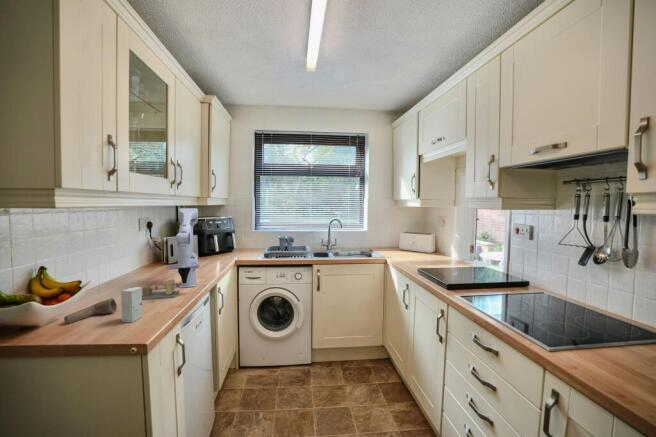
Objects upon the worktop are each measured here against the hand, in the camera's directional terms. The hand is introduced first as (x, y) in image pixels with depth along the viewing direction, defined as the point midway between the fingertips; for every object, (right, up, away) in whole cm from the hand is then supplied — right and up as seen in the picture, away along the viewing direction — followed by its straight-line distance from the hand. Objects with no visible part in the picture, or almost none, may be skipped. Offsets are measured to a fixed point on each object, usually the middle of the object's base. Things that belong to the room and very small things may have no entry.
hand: (184, 282), depth 146 cm
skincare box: (-4, -7, -33) cm, 34 cm away
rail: (-11, -6, -3) cm, 12 cm away
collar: (-6, -5, -2) cm, 8 cm away
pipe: (-22, -7, -31) cm, 38 cm away
